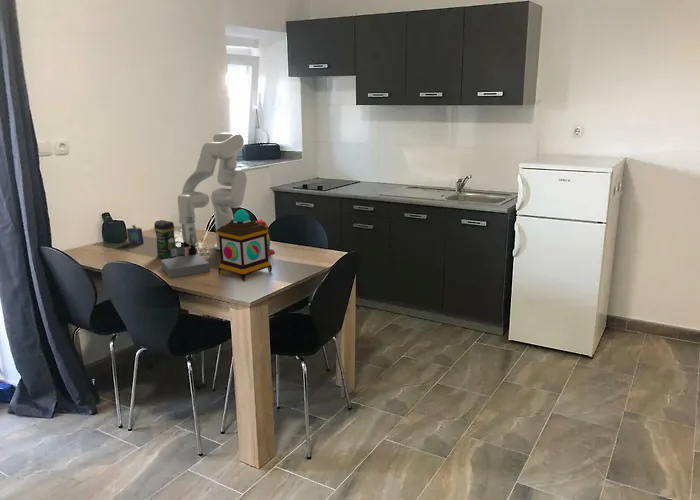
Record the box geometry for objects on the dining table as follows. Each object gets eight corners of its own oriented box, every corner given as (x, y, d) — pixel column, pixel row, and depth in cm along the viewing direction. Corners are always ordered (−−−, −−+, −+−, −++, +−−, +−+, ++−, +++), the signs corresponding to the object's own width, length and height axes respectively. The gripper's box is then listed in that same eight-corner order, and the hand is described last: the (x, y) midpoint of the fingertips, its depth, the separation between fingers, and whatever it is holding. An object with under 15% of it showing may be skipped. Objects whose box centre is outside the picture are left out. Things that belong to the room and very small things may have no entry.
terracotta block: (195, 257, 293) (194, 246, 291) (198, 260, 288) (197, 248, 287) (185, 259, 290) (184, 247, 289) (188, 261, 286) (187, 250, 284)
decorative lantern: (247, 264, 280) (243, 203, 272) (276, 271, 268) (272, 207, 259) (214, 275, 265) (208, 210, 257) (243, 283, 253) (238, 216, 245)
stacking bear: (266, 258, 289) (264, 223, 284) (248, 256, 292) (245, 222, 288) (276, 252, 299) (274, 218, 294) (258, 250, 302) (256, 217, 297)
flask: (127, 244, 321) (124, 225, 318) (130, 242, 324) (128, 224, 321) (142, 244, 319) (139, 225, 316) (145, 243, 321) (142, 224, 318)
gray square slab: (199, 261, 285) (198, 254, 284) (210, 271, 270) (209, 263, 269) (161, 268, 277) (160, 259, 276) (170, 278, 262) (169, 269, 261)
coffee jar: (154, 256, 295) (150, 221, 290) (167, 253, 302) (163, 218, 297) (167, 259, 290) (163, 223, 285) (179, 255, 296) (176, 220, 291)
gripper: (200, 221, 278) (202, 256, 282) (189, 215, 292) (192, 248, 297) (184, 223, 274) (187, 258, 279) (174, 217, 289) (177, 250, 293)
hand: (190, 253), depth 288 cm, fingers open, 9 cm apart
